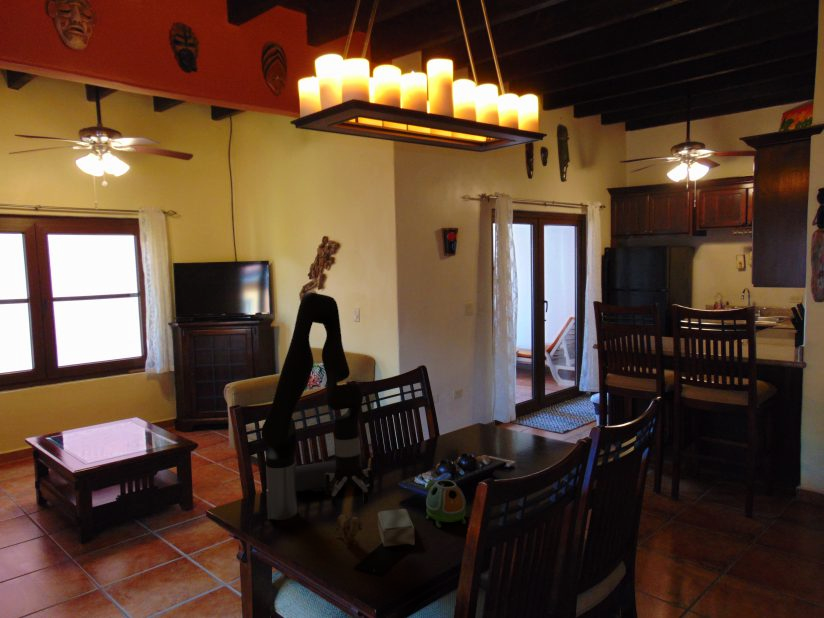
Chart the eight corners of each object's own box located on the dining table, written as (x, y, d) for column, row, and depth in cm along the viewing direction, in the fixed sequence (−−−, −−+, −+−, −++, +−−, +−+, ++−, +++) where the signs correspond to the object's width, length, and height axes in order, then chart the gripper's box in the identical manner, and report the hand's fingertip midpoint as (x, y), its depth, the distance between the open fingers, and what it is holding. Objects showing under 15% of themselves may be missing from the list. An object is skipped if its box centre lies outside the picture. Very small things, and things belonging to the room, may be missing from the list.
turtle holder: (446, 503, 198) (445, 468, 197) (473, 524, 182) (473, 486, 181) (413, 510, 193) (412, 475, 192) (438, 532, 177) (437, 494, 176)
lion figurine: (366, 547, 168) (365, 517, 168) (350, 553, 166) (349, 522, 165) (343, 529, 181) (342, 500, 180) (327, 533, 178) (326, 505, 177)
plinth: (383, 548, 168) (383, 529, 167) (378, 528, 180) (377, 510, 180) (414, 544, 169) (414, 526, 169) (406, 525, 182) (406, 507, 182)
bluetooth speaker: (353, 480, 221) (353, 454, 221) (359, 489, 213) (358, 462, 212) (293, 488, 215) (292, 462, 214) (296, 498, 206) (295, 470, 205)
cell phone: (413, 547, 168) (413, 544, 168) (381, 578, 152) (381, 574, 152) (386, 541, 172) (386, 538, 172) (353, 570, 157) (353, 567, 156)
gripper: (323, 458, 166) (326, 513, 167) (373, 453, 168) (376, 507, 170) (322, 450, 173) (325, 503, 174) (369, 445, 176) (372, 497, 177)
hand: (350, 505), depth 172 cm, fingers open, 8 cm apart
